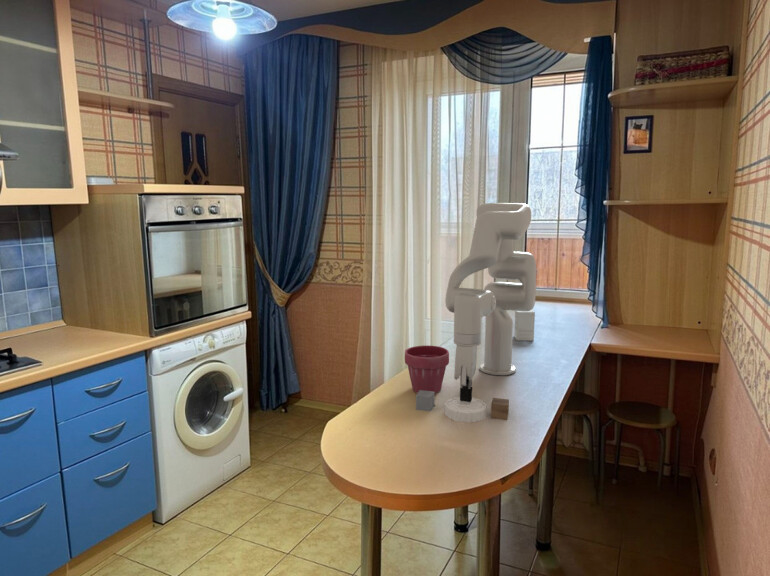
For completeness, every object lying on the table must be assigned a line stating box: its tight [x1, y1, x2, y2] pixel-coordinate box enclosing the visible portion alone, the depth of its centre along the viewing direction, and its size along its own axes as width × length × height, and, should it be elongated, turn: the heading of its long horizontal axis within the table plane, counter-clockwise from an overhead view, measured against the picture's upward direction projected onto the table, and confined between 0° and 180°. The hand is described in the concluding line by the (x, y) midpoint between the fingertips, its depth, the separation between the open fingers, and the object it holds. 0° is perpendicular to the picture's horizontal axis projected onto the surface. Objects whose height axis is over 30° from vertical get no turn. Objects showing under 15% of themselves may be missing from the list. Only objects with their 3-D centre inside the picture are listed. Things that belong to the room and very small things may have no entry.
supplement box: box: [513, 309, 536, 342], centre depth 235 cm, size 7×7×13 cm
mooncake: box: [443, 396, 488, 423], centre depth 155 cm, size 12×12×4 cm
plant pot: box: [404, 345, 450, 394], centre depth 174 cm, size 14×14×13 cm
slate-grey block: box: [415, 390, 435, 412], centre depth 160 cm, size 4×4×4 cm
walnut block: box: [490, 397, 510, 421], centre depth 153 cm, size 4×4×4 cm
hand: (465, 400), depth 155 cm, fingers closed
